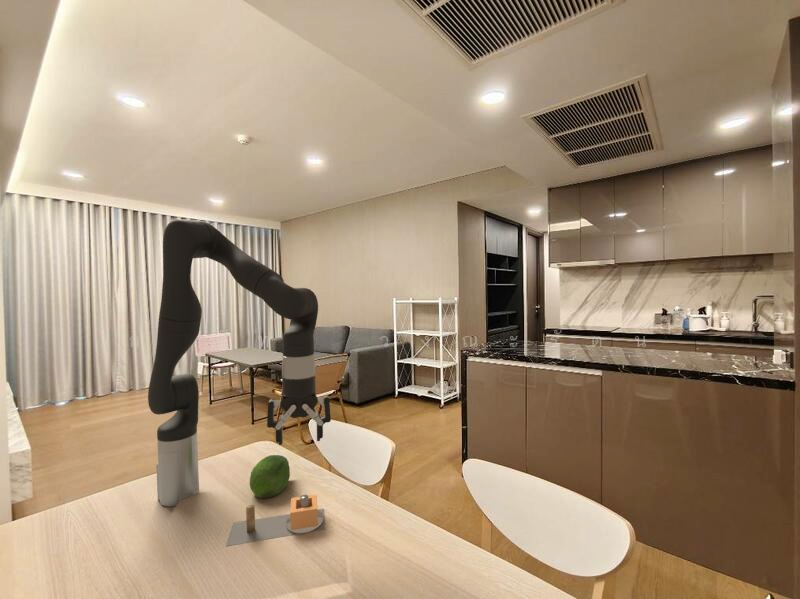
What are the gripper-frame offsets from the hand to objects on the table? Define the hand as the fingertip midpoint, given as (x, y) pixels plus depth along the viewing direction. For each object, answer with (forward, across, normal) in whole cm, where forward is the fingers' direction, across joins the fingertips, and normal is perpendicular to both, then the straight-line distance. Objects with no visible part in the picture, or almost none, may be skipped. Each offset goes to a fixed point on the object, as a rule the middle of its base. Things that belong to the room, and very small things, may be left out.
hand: (300, 441), depth 87 cm
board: (+20, -5, -1) cm, 21 cm away
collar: (+18, +1, -1) cm, 18 cm away
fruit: (+21, -8, +18) cm, 28 cm away
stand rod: (+19, -11, -1) cm, 22 cm away
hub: (+19, +1, -1) cm, 19 cm away
